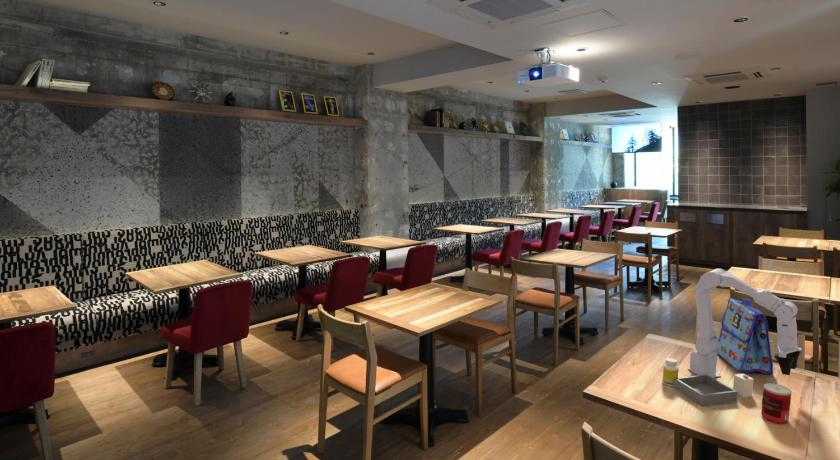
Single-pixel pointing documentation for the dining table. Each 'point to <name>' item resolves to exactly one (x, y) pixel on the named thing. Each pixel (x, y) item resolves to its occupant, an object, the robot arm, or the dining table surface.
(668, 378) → the supplement bottle
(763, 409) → the canned food
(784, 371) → the robot arm
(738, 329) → the lunch bag
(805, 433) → the dining table surface
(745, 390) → the juice carton
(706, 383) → the tray
